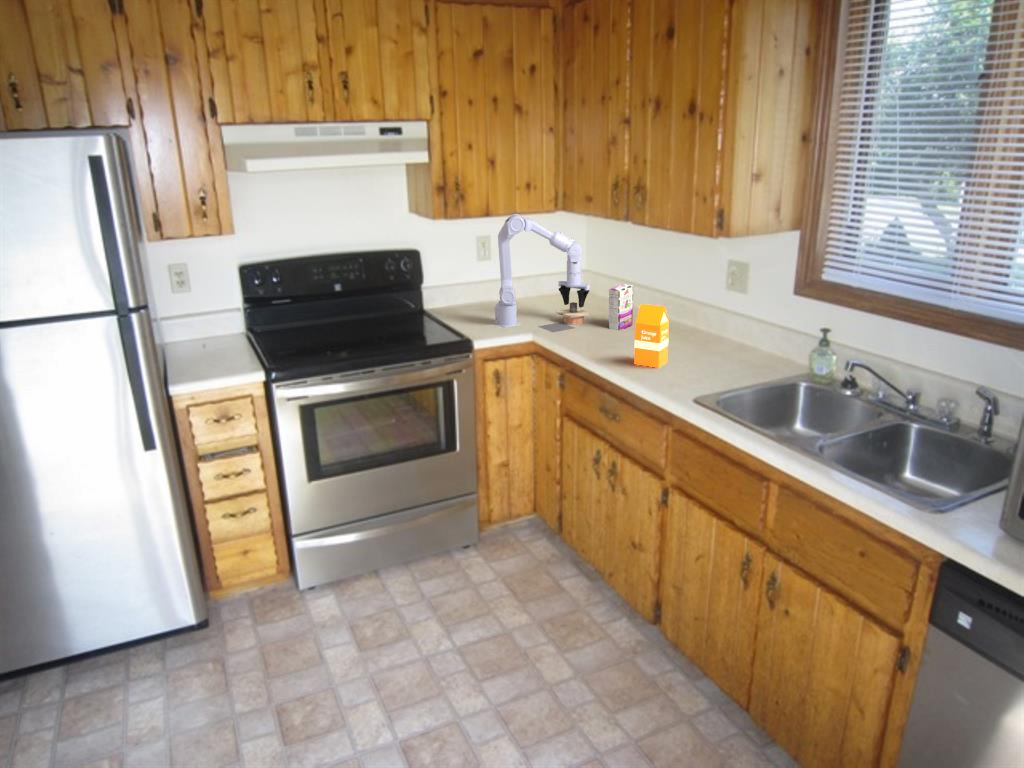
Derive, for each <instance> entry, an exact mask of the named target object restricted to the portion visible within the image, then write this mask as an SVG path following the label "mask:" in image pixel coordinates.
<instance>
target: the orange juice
mask: <svg viewBox="0 0 1024 768" xmlns="http://www.w3.org/2000/svg"><path fill="white" fill-rule="evenodd" d="M666 308H667V307H666V306H665V305H664V306H663V305H655V304H654V305H653V304H647V303H646V304H645V303H640V305H639V308H638V312H637V317H636V320H635V324H634V325H635V328H634V329H635V330H634V354H633V355H634V358H633V361H634V362H633V365H634V364H637V365H636V366H639V365H643V366H642V367H646V366H649V367H648V368H652V367H655V368H654V369H658V368H659V367H660V368H662V365H663V366H665V365H666V364H667V363H668V354H669V353H668V352H669V334H670V333H669V331H670V330H669V329H670V320H669V317H668V312H667V309H666ZM660 368H659V369H660Z"/></svg>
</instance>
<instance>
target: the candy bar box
mask: <svg viewBox="0 0 1024 768" xmlns="http://www.w3.org/2000/svg"><path fill="white" fill-rule="evenodd" d="M633 301H634V285H633V284H625V283H622V284H620V285H617V286H614V287H611V288H609V290H608V307H609V308H608V329H609V330H614V331H621V330H623V329H626V328H630V327H631V326H633V321H634V320H633V319H634V318H633V317H634V315H633V313H634V312H633V308H634V307H633V305H634V304H633V303H634V302H633Z"/></svg>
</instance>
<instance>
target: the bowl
mask: <svg viewBox="0 0 1024 768" xmlns="http://www.w3.org/2000/svg"><path fill="white" fill-rule="evenodd" d="M584 322H585V316H579V317H573V318H569V317H566V316H563V324H566V325H581V324H584Z"/></svg>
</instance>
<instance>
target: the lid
mask: <svg viewBox="0 0 1024 768" xmlns="http://www.w3.org/2000/svg"><path fill="white" fill-rule="evenodd" d="M555 313H556V314H557V315H560V316H563V317H564V316H566V317H569V318H573V317H579V316H584V317H585V316H589V315H590V316H591V315H592V313H591V312H590V311H587V310H584V309H581V308H579V307H578V302H576V301H575V302H569V309H568V308H567V309H561V310H556V312H555Z"/></svg>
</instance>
